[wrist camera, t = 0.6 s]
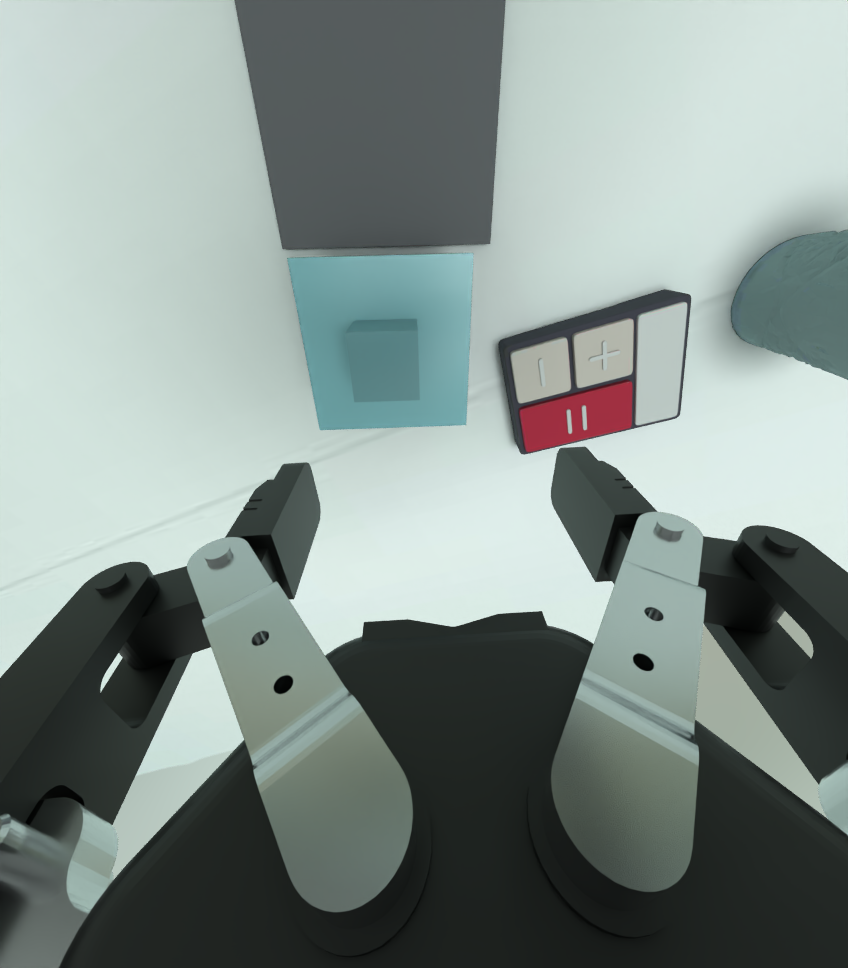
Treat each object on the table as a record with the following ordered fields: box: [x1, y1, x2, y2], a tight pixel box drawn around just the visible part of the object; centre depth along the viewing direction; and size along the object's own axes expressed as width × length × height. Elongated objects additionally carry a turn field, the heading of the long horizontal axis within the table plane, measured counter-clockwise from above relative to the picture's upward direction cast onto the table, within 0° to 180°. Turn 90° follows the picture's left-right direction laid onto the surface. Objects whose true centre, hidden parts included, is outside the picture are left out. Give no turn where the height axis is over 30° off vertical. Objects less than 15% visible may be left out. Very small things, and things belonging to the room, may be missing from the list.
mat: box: [235, 0, 505, 249], centre depth 24 cm, size 16×16×1 cm
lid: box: [287, 253, 473, 430], centre depth 24 cm, size 11×11×7 cm
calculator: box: [499, 290, 691, 454], centre depth 34 cm, size 11×4×15 cm
